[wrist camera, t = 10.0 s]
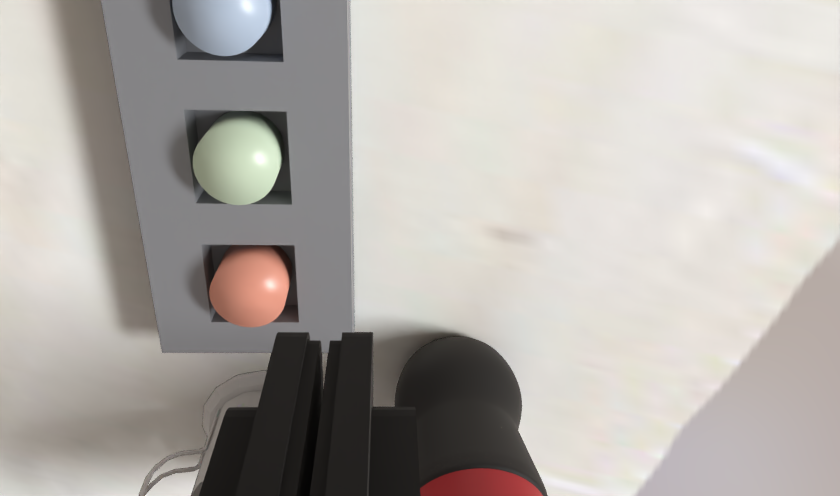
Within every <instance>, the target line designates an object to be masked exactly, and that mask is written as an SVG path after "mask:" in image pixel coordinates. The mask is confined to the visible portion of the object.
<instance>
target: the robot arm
mask: <svg viewBox="0 0 840 496" xmlns="http://www.w3.org/2000/svg"><path fill="white" fill-rule="evenodd" d="M199 496H421V495H420V477H419V459H418V441H417V423H416V409H415V407H373V332H343V333H342V339H341V340H330V344H329V351H328V359H327V367H326V374H325V382H324V390H323V370H322V347H321V341H320V340H310V335H309V332H278V333H277V334H276V338H275V341H274V345H273V349H272V353H271V357H270V361H269V365H268V369H267V373H266V377H265V381H264V385H263V389H262V392H261V396H260V400H259V404H258V407H229V408H228V409H227V410H226V412H225V415H224V417H223V421H222V424H221V427H220V430H219V433H218V436H217V440H216V443H215V446H214V449H213V452H212V455H211V459H210V462H209V465H208V468H207V471H206V474H205V478H204V481H203V484H202V487H201V490H200V493H199Z"/></svg>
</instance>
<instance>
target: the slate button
mask: <svg viewBox="0 0 840 496" xmlns="http://www.w3.org/2000/svg"><path fill="white" fill-rule="evenodd" d="M172 5H173V12H174V16H175V19H176V22H177V24H178V26H179V28H180V30H181V31H182V33H183V34H184V35H185V37H186V38H187V39H188V40H189V41H190V42H191V43H192V44H194V45H195V46H196V47H198V48H199V49H201V50H203V51H205V52H207V53H210V54H213V55H218V56H232V55H237V54H240V53H242V52H244V51H246V50H248V49H249V48H251V47H252V46H253V45H254V44H255V43H256V42H257V41H258V40H259V39H260V38H261V36H262V35H263V34H264V33H265V32H266V31H267V30H268V28H269V27H270V25H271V23H272V21H273V19H274V15H275V10H276V0H172Z"/></svg>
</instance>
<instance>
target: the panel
mask: <svg viewBox="0 0 840 496" xmlns="http://www.w3.org/2000/svg"><path fill="white" fill-rule="evenodd" d="M101 4H102V10H103V15H104V21H105V27H106V33H107V38H108V44H109V50H110V56H111V61H112V67H113V73H114V79H115V84H116V90H117V96H118V102H119V107H120V113H121V119H122V125H123V130H124V136H125V142H126V148H127V154H128V159H129V165H130V171H131V177H132V182H133V188H134V194H135V200H136V205H137V211H138V217H139V223H140V228H141V234H142V240H143V246H144V251H145V257H146V263H147V269H148V274H149V280H150V286H151V292H152V298H153V303H154V309H155V315H156V321H157V326H158V332H159V338H160V344H161V349H162V353H272V349H273V345H274V341H275V338H276V334H277V333H278V332H309V335H310V340H320V341H321V347H322V353H328V351H329V344H330V340H341V339H342V333H343V332H354V328H355V316H354V245H353V174H352V103H351V32H350V0H276V10H275V15H274V19H273V21H272V23H271V25H270V27H269V28H268V30H267V31H266V32H265V33H264V34H263V35H262V36H261V38H260V39H259V40H258V41H257V42H256V43H255V44H254V45H253V46H252V47H251V48H249V49H248V50H246V51H244V52H242V53H240V54H237V55H232V56H218V55H213V54H210V53H207V52H205V51H203V50H201V49H199V48H198V47H196V46H195V45H194V44H192V43H191V42H190V41H189V40H188V39H187V38H186V37H185V35H184V34H183V33H182V31H181V30H180V28H179V26H178V24H177V22H176V19H175V16H174V12H173V5H172V0H101ZM231 111H253V112H256V113H259V114H261V115H263V116H265V117H266V118H268V119H269V120H270V121H272V122H273V123H274V125H275V126H276V127H277V128H278V130H279V131H280V133H281V135H282V138H283V141H284V145H285V155H284V160H283V163H282V165H281V168H280V170H279V173H278V175H277V178H276V181H275V183H274V185H273V187H272V189H271V190H270V192H269V193H268V194H267V195H266V196H265V197H263V198H262V199H260V200H259V201H256V202H254V203H251V204H247V205H232V204H227V203H224V202H221V201H219V200H217V199H215V198H214V197H212V196H211V195H209V194H208V193H207V192H206V191H205V190H204V189H203V188H202V187H201V185H200V184H199V182H198V180H197V178H196V176H195V173H194V169H193V155H194V151H195V149H196V146H197V145H198V143H199V142H200V140H201V139H202V138H203V136H204V135H205V134H206V132H207V131H208V130H209V129H210V127H211V126H212V125H213V123H214V122H215V121H216V120H217V119H218V118H219V117H221V116H222V115H224V114H226V113H228V112H231ZM232 245H278V246H279V247H280V248H281V249H282V250H284V252H285V253H286V254H287V256H288V257H289V259H290V261H291V265H292V278H291V282H290V286H289V290H288V294H287V298H286V302H285V306H284V309H283V310H282V312H281V314H280V315H279V316H278V317H277V318H276V319H275V320H274V321H272V322H270V323H269V324H266V325H263V326H260V327H242V326H238V325H235V324H232V323H230V322H228V321H227V320H225V319H224V318H223V317H221V316H220V315H219V314H218V313H217V312H216V310H215V309H214V307H213V305H212V303H211V300H210V294H209V290H210V285H211V282H212V280H213V278H214V276H215V273H216V271H217V269H218V267H219V265H220V262H221V260H222V258H223V256H224V254H225V252H226V251H227V249H228V248H229V247H230V246H232Z"/></svg>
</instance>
